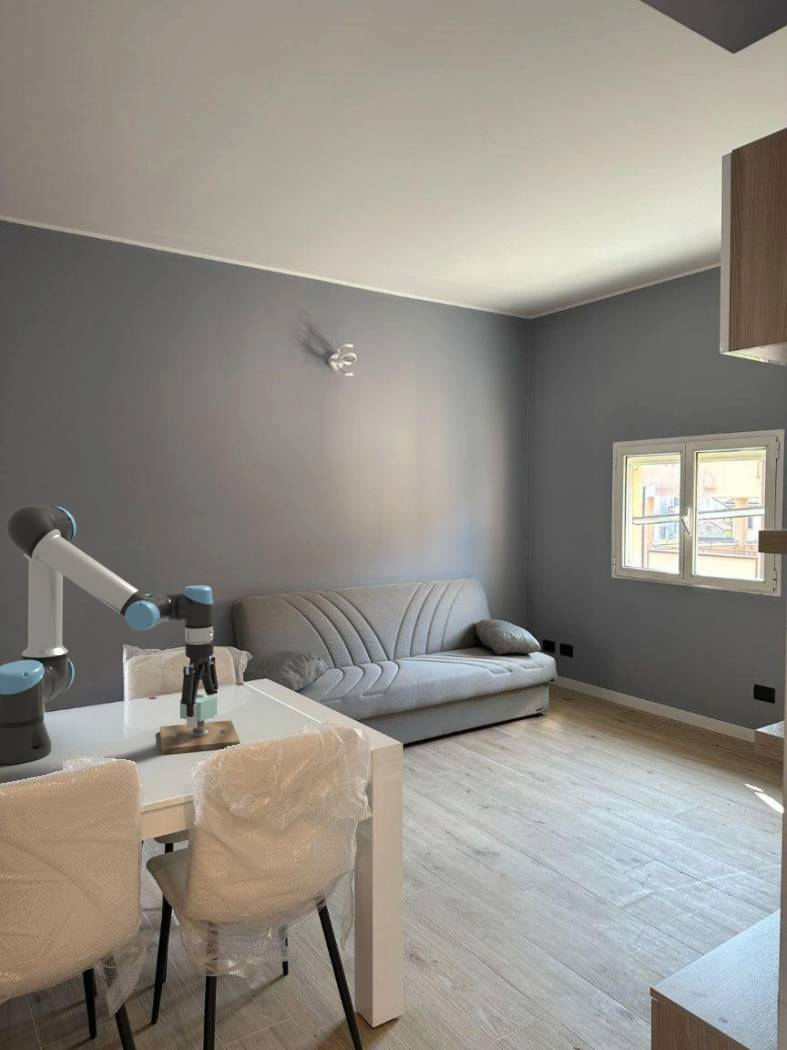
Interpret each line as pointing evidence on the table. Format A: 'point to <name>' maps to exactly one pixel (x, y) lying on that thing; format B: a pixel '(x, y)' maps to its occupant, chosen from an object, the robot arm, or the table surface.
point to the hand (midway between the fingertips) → (200, 722)
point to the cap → (202, 707)
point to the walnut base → (198, 737)
